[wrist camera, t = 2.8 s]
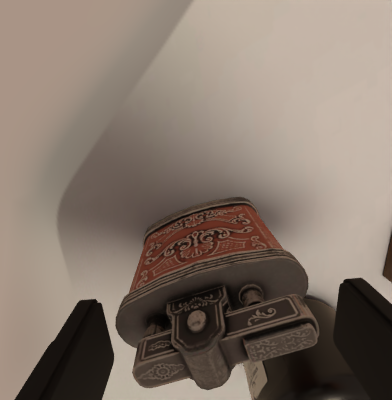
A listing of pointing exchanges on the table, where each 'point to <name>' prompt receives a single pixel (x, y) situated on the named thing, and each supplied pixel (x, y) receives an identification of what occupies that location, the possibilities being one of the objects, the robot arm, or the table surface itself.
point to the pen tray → (389, 264)
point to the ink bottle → (307, 368)
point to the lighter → (213, 297)
